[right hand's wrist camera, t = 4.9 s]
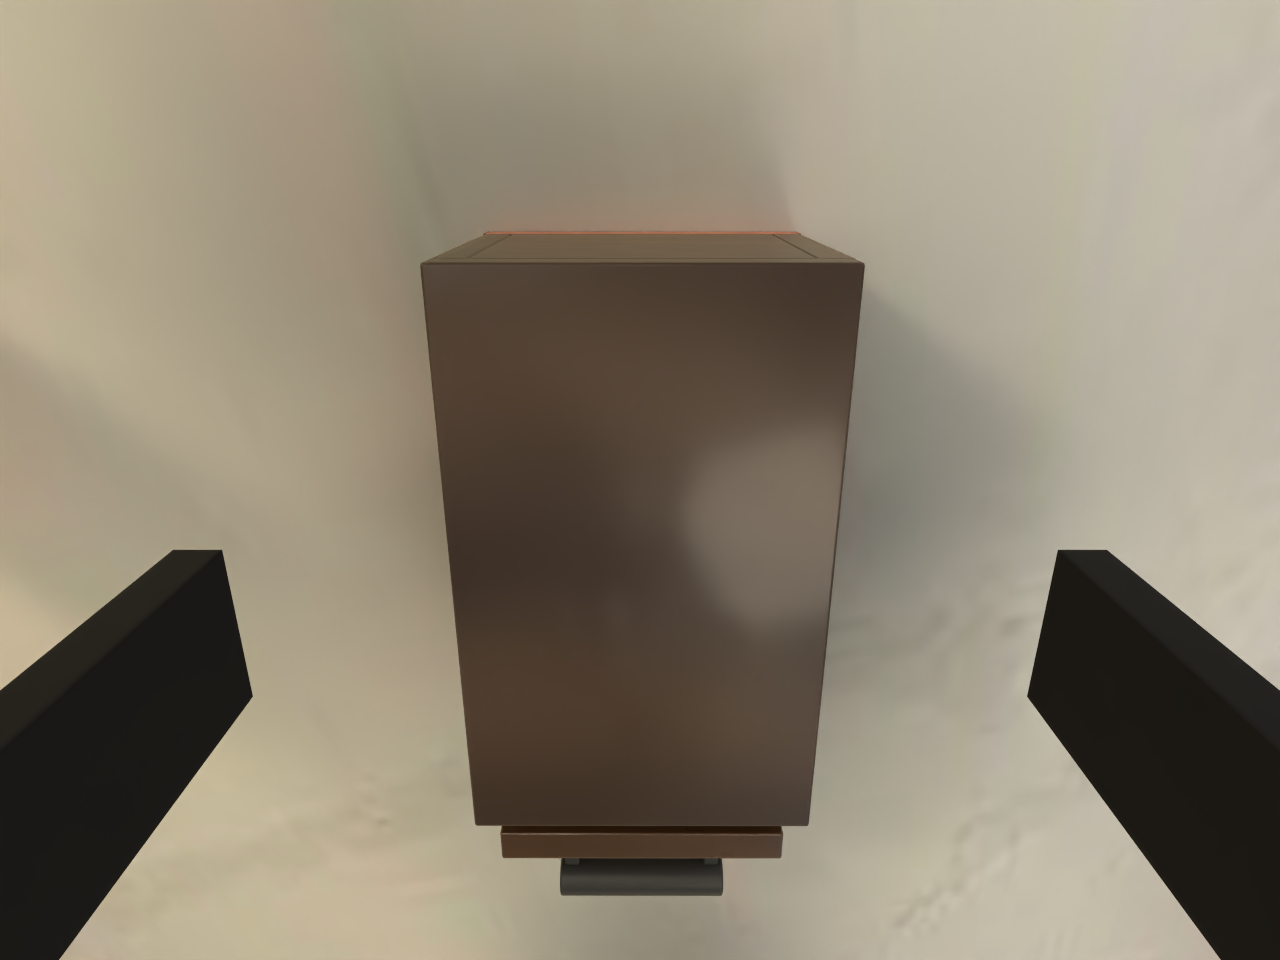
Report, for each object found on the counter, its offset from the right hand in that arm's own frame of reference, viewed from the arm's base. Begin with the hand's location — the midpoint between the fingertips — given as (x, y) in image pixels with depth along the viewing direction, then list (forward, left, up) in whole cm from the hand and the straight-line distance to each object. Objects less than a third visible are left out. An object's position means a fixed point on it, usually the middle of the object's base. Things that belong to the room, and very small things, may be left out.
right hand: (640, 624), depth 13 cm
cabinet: (+3, -3, -19) cm, 20 cm away
